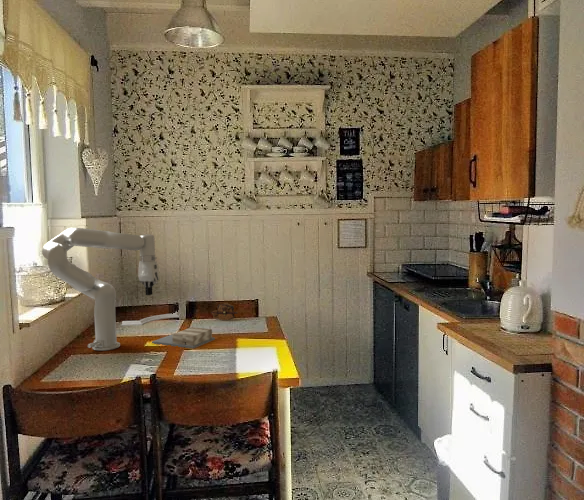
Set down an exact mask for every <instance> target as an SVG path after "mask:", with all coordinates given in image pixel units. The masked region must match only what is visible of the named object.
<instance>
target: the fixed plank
mask: <svg viewBox="0 0 584 500" xmlns="http://www.w3.org/2000/svg"><path fill="white" fill-rule="evenodd" d="M200 328H201V329H198V330H196V331H193V332H190V333H187V334H185V335H182V338H183V342H186V345H190V346H194V345H196V344H199V343H201V342H203V341H206V340H208V339H211V338H212V337H213V329H212V328H205V327H200Z"/></svg>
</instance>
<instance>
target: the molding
mask: <svg viewBox="0 0 584 500" xmlns="http://www.w3.org/2000/svg"><path fill="white" fill-rule="evenodd" d="M172 313H173V312H172ZM172 313H165V314H159V315H158V314H157V315H151V316H148V317H145V318H141V319H139V320H123V321H122V322H121V327H127V326H130V325H133V326H143V325H145V324H147V323H150V322H155V321H158V320H164V319H165V320H166V319H173V318H175V319H176V318H180V317H181V315H182V311H180V310H179V309H178V312H177V311H175V313H173V314H172Z"/></svg>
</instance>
